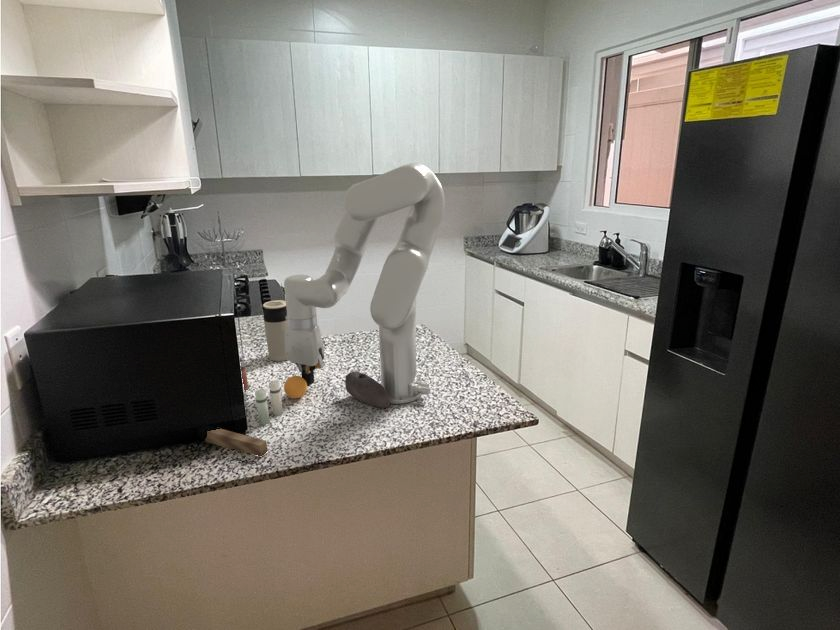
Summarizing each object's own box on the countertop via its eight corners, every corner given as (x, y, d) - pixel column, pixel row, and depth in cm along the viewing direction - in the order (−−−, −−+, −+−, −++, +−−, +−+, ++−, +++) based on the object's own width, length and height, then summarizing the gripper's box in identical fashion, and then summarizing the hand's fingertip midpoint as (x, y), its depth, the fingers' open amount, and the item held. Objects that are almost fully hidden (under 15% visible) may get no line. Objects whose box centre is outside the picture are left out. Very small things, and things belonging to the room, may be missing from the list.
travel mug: (279, 364, 151) (272, 309, 145) (263, 358, 156) (256, 304, 150) (299, 355, 157) (294, 302, 151) (284, 350, 162) (277, 298, 156)
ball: (305, 372, 129) (290, 387, 125) (315, 389, 132) (300, 404, 128) (290, 370, 132) (275, 385, 128) (299, 386, 135) (285, 401, 131)
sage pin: (272, 421, 119) (268, 390, 116) (265, 426, 117) (260, 395, 114) (264, 419, 120) (259, 388, 117) (257, 424, 118) (252, 393, 115)
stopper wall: (267, 452, 107) (266, 440, 106) (261, 457, 105) (260, 445, 104) (206, 435, 114) (204, 424, 113) (200, 439, 112) (197, 428, 111)
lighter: (222, 387, 137) (216, 354, 134) (231, 382, 140) (226, 350, 137) (242, 393, 133) (237, 359, 130) (252, 387, 136) (247, 355, 133)
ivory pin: (285, 411, 124) (281, 381, 121) (278, 416, 121) (274, 386, 119) (277, 409, 124) (273, 380, 122) (270, 414, 122) (266, 384, 120)
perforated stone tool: (396, 408, 125) (395, 383, 122) (381, 416, 121) (380, 391, 119) (359, 389, 134) (357, 367, 132) (344, 396, 131) (342, 373, 129)
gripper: (270, 322, 128) (278, 384, 134) (316, 330, 122) (322, 395, 128) (289, 313, 135) (296, 373, 141) (334, 321, 128) (338, 383, 134)
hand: (308, 383), depth 134 cm, fingers closed
